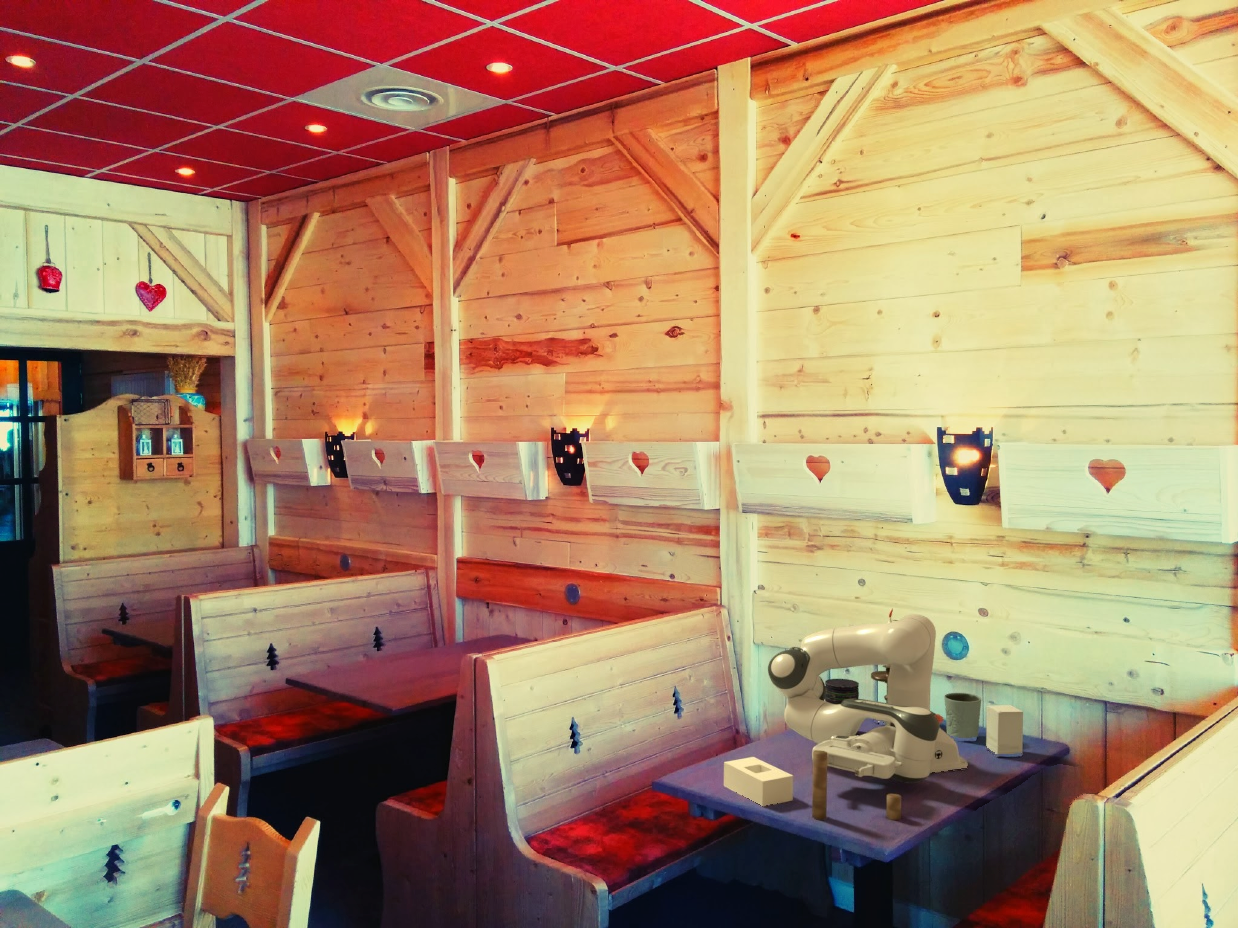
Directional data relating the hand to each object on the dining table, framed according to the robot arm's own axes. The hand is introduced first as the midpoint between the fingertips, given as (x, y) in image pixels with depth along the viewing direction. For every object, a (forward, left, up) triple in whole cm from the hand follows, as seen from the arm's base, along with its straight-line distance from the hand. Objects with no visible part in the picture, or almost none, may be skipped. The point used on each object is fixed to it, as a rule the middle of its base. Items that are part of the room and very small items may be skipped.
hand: (839, 768), depth 246 cm
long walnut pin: (+7, +7, -9) cm, 13 cm away
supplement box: (-59, -33, -9) cm, 68 cm away
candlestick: (-39, -66, -9) cm, 77 cm away
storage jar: (-20, -56, -9) cm, 60 cm away
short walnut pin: (-10, +9, -9) cm, 16 cm away
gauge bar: (+17, -10, -9) cm, 22 cm away
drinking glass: (-54, -48, -9) cm, 73 cm away
